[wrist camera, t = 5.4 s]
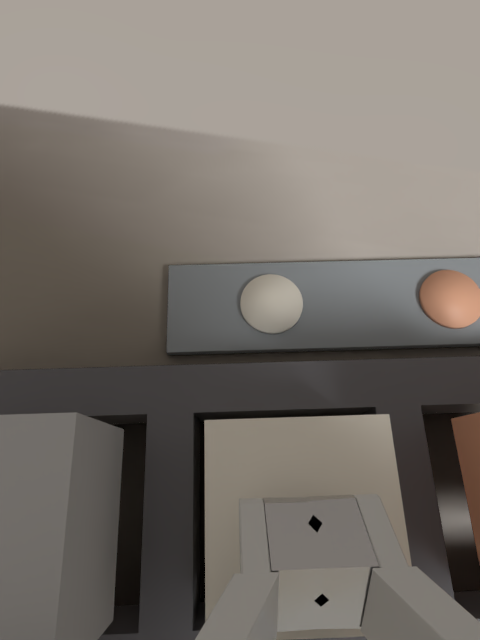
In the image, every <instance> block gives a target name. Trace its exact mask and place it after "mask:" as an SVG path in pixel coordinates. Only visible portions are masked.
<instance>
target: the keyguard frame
mask: <svg viewBox="0 0 480 640" xmlns="http://www.w3.org/2000/svg"><path fill="white" fill-rule="evenodd" d="M74 412H77V413H80V414H82V415H85V416H88V417H91V418H94V419H96V420H99V421H102V422H105V423H107V424H136V423H147V434H146V458H145V483H144V508H143V533H142V558H141V583H140V605H126V606H114V613H113V621H112V622H111V624H110V625H109V626H108V627H107V629H106V630H105V631H104V632H103V634H102V635H101V636H100V637H99V639H98V640H195V639H196V637H197V635H198V634H199V632H200V630H201V629H202V627H203V625H204V624H205V602H200V421H204V420H221V419H252V418H283V417H314V416H345V415H376V414H389V416H390V423H391V430H392V436H393V443H394V450H395V456H396V463H397V470H398V477H399V483H400V490H401V497H402V503H403V510H404V517H405V524H406V530H407V537H408V544H409V550H410V557H411V564H412V566H417V567H418V568H419V569H420V570H421V571H422V572H424V573H425V574H426V575H427V576H428V577H429V578H430V579H431V580H433V581H434V582H435V583H436V584H437V585H438V586H439V587H441V588H442V589H443V590H444V591H445V592H446V593H447V594H448V595H450V596H451V597H452V598H453V599H454V600H455V601H456V602H458V603H459V604H460V605H461V606H462V607H463V608H464V609H465V610H467V611H468V612H469V613H470V614H471V615H472V616H473V617H474V618H476V619H477V620H478V621H479V622H480V591H462V592H453V587H452V582H451V576H450V570H449V564H448V559H447V553H446V547H445V542H444V536H443V530H442V524H441V519H440V513H439V507H438V502H437V496H436V490H435V484H434V479H433V473H432V467H431V461H430V456H429V450H428V444H427V439H426V433H425V427H424V421H423V416H422V414H445V413H476V412H480V356H467V357H433V358H399V359H365V360H331V361H297V362H263V363H229V364H195V365H161V366H127V367H93V368H59V369H25V370H0V415H11V414H42V413H74ZM294 640H367V639H366V637H365V636H363V637H340V638H317V639H294Z"/></svg>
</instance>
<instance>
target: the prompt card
mask: <svg viewBox="0 0 480 640" xmlns="http://www.w3.org/2000/svg"><path fill="white" fill-rule="evenodd" d="M469 346H480V258H449V259H408V260H367V261H326V262H284V263H243V264H202V265H169V279H168V317H167V354H168V355H193V354H227V353H262V352H297V351H331V350H366V349H400V348H435V347H469Z"/></svg>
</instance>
